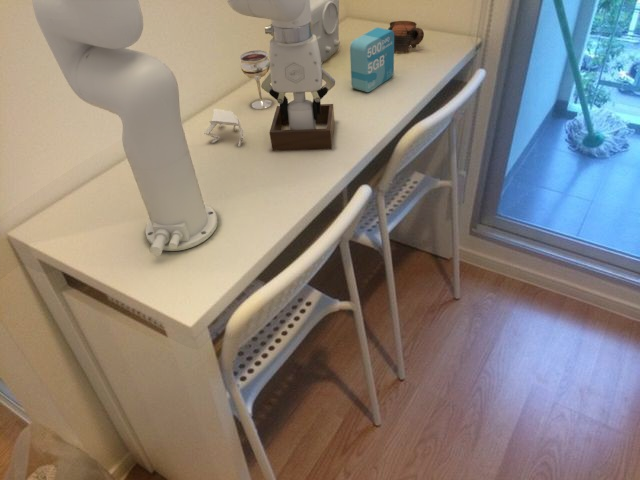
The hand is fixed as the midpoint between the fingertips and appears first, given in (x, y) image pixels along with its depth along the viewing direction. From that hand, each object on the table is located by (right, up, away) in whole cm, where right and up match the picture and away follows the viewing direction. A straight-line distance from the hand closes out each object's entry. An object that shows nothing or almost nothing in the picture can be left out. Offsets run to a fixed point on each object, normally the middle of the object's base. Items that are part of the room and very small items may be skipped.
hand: (301, 116), depth 113 cm
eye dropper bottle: (0, -4, +3) cm, 5 cm away
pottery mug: (+28, +28, +36) cm, 53 cm away
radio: (+3, +23, +34) cm, 41 cm away
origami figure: (-16, -4, +5) cm, 17 cm away
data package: (+17, +13, +21) cm, 30 cm away
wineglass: (-10, +7, +17) cm, 21 cm away
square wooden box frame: (+1, -4, +3) cm, 5 cm away
